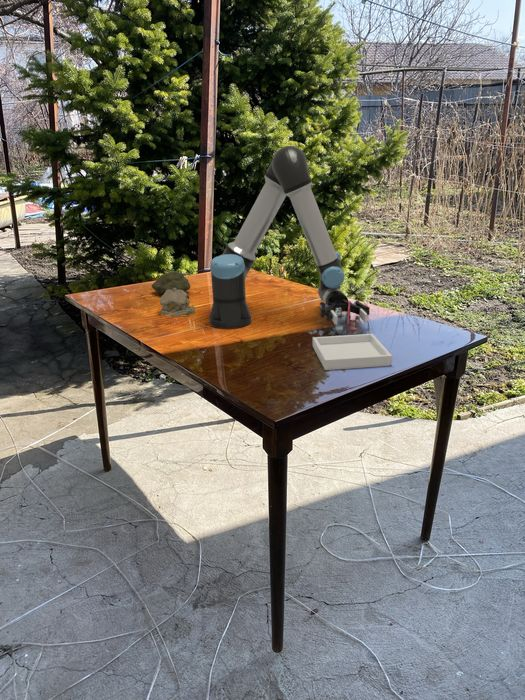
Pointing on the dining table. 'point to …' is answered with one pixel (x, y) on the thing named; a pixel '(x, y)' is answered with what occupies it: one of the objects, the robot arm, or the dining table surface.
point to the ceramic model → (175, 303)
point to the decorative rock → (171, 282)
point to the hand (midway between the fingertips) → (351, 319)
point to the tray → (351, 352)
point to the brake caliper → (347, 323)
